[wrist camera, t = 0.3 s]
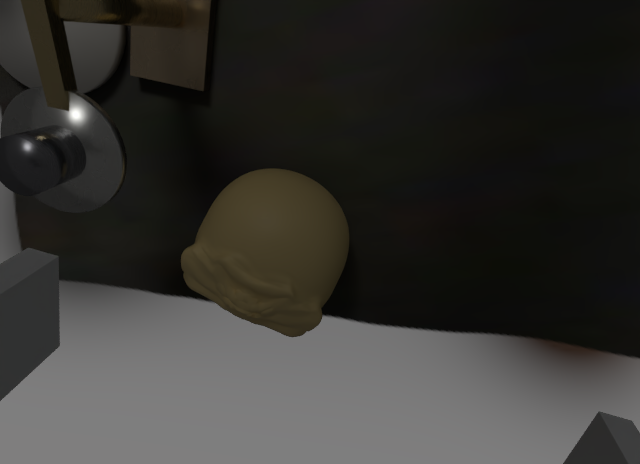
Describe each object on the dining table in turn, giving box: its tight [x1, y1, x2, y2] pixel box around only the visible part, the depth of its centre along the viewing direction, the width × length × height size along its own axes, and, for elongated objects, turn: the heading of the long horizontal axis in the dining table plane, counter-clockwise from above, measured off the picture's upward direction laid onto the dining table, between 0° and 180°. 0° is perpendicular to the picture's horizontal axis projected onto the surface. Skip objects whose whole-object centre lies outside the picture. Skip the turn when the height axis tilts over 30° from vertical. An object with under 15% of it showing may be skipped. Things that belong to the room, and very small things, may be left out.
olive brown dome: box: [181, 169, 349, 337], centre depth 35 cm, size 11×12×11 cm
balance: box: [0, 0, 217, 213], centre depth 26 cm, size 22×7×18 cm, turn 169°
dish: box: [0, 0, 127, 94], centre depth 35 cm, size 12×12×1 cm
